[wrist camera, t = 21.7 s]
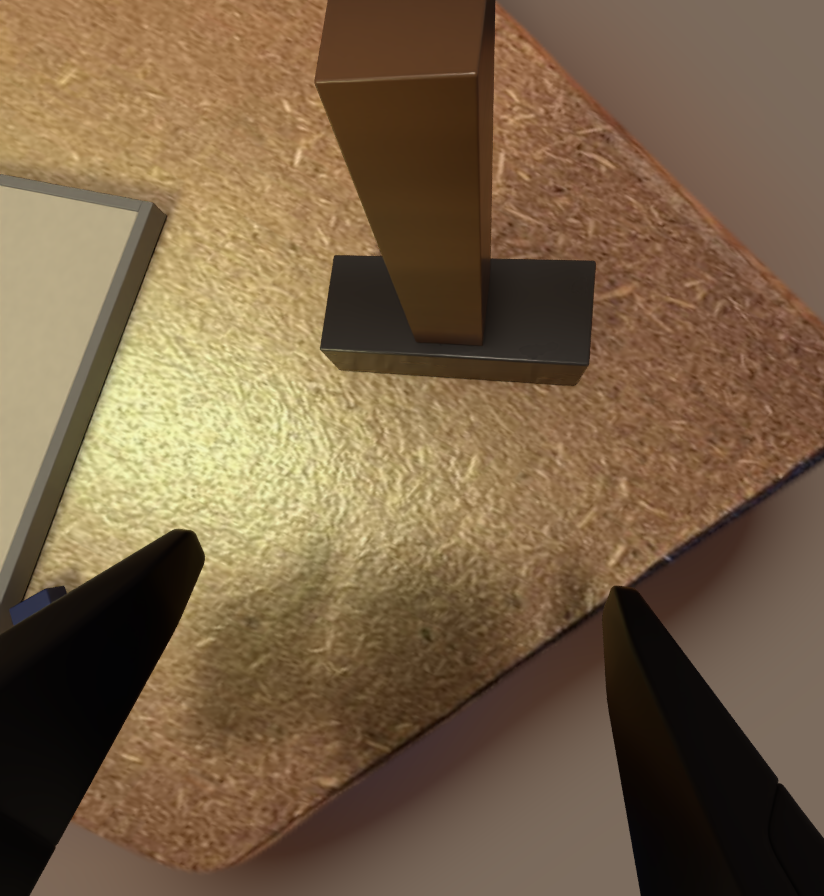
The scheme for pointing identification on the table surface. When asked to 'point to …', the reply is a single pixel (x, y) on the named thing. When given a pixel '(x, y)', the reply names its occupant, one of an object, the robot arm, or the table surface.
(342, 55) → the brown rubber stamp
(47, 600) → the dark blue domino
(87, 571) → the table surface
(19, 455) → the whiteboard
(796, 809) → the robot arm
